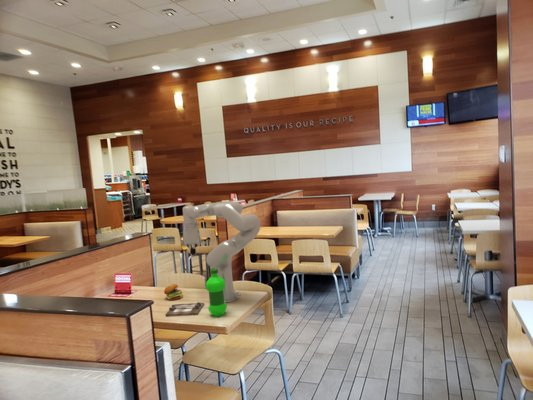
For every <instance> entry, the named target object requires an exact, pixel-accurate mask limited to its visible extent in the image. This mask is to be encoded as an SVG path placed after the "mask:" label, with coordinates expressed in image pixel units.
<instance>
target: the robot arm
mask: <svg viewBox="0 0 533 400" xmlns="http://www.w3.org/2000/svg"><path fill="white" fill-rule="evenodd" d="M242 212H243V206H242V204H241V203H240V202H238V201H229V202H217V203H204V204H198V205H185V206H183V207H182V216H183V226H184V228H183V231H182V240H183V242H182V243H183V246H184V247H186V248H189V252H190V255H191V256H195V255H196V251H197V250H196V248H197V247H198V246H200V245H201V244H202V242H201V239H202V238H201V233H200V229H199V227H198V226H199V223H197V219H199V218H204V217H211V216H215V217H216V218H224V219H225V220H226V222H228V223H229V224H230V225H231V226H232V227H233V228H235V229H236V231H238V233H237V234H236V235H235V236H233V237H232V238H231V237H230V238H229V239H226V240H223V241H222V242H221V243H219V244H218V245H217V246H215V247H214V248H213V249H211V251H210V252H209V253H208V254H207V256H206V260H205V261H206V264H207V265H208V266H209V267H210V268H212V269H218V273H217V275H218V276H219V277H221V278H222V279H224V281H225V287H224V289H223V291H224V302H225V303H226V304H227V303H231V302H234V301H235V300H237V297H241V296H242V293H241V292H240V291H239V292H236V290H235V289H234V282H233V269H232V263H233V257H234V256H235V255H237V254H239V253H240V252H241V250H243V249H244V248H245V247H246V246H247V245H249V244H250V243H251V242H252V241H254V239H256V237H257V235H258V234H259V232H260V230H261V220H260V217H258V216H257V215H256V214H254V213H250V214H245V215H242Z"/></svg>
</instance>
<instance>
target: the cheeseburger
mask: <svg viewBox="0 0 533 400" xmlns="http://www.w3.org/2000/svg"><path fill="white" fill-rule="evenodd" d="M178 287H179V285H178V284H176V283H175V284H173V283H172V284H171V285H169V286H166V287H165V288H164V294H165V295H166V298H167V299H168V300H169V301H174V300H179V299H183V297H184V294H183V290H182V289H179V288H178Z"/></svg>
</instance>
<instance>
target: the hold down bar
mask: <svg viewBox="0 0 533 400" xmlns="http://www.w3.org/2000/svg"><path fill="white" fill-rule="evenodd" d="M171 307H174V308H195V305H193V306H172V305H171Z"/></svg>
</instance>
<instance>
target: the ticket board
mask: <svg viewBox="0 0 533 400" xmlns="http://www.w3.org/2000/svg"><path fill="white" fill-rule="evenodd" d="M193 305H195V308H174V307H172V306H193ZM204 306H205V302H200V301H198V302H191V303H175V304H171V307H169V308H168V310H167V312H166V313H165V314H164V315H165V318H166V317H184V316H198V314H199V313H200V312H201V310H202V309H203V307H204Z"/></svg>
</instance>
